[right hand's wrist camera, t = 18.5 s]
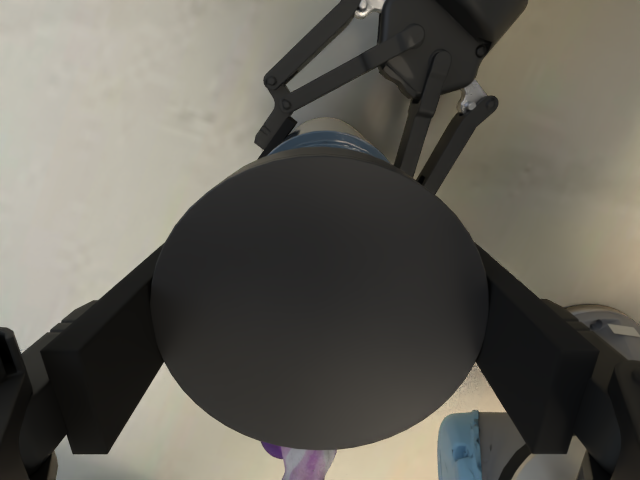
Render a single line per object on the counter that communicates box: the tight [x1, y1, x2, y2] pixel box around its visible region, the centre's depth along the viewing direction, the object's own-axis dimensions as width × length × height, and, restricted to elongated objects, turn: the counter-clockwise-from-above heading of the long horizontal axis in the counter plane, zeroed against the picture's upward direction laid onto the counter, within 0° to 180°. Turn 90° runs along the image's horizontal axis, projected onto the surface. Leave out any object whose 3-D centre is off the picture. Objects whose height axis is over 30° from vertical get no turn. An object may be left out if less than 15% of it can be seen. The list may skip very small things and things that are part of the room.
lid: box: [150, 147, 489, 450], centre depth 11 cm, size 9×9×2 cm
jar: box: [267, 117, 391, 164], centre depth 27 cm, size 9×9×19 cm
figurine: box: [261, 441, 337, 480], centre depth 38 cm, size 9×10×15 cm
